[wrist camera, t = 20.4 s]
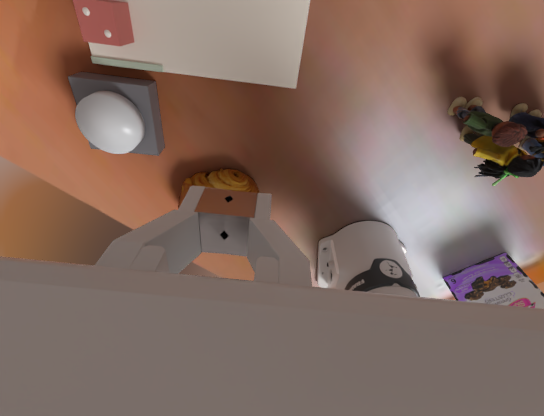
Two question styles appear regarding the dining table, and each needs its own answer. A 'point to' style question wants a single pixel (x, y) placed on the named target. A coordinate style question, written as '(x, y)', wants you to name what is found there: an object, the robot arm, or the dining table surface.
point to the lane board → (214, 39)
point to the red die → (104, 21)
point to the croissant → (220, 182)
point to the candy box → (495, 284)
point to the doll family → (502, 139)
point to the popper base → (134, 91)
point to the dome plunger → (110, 122)
